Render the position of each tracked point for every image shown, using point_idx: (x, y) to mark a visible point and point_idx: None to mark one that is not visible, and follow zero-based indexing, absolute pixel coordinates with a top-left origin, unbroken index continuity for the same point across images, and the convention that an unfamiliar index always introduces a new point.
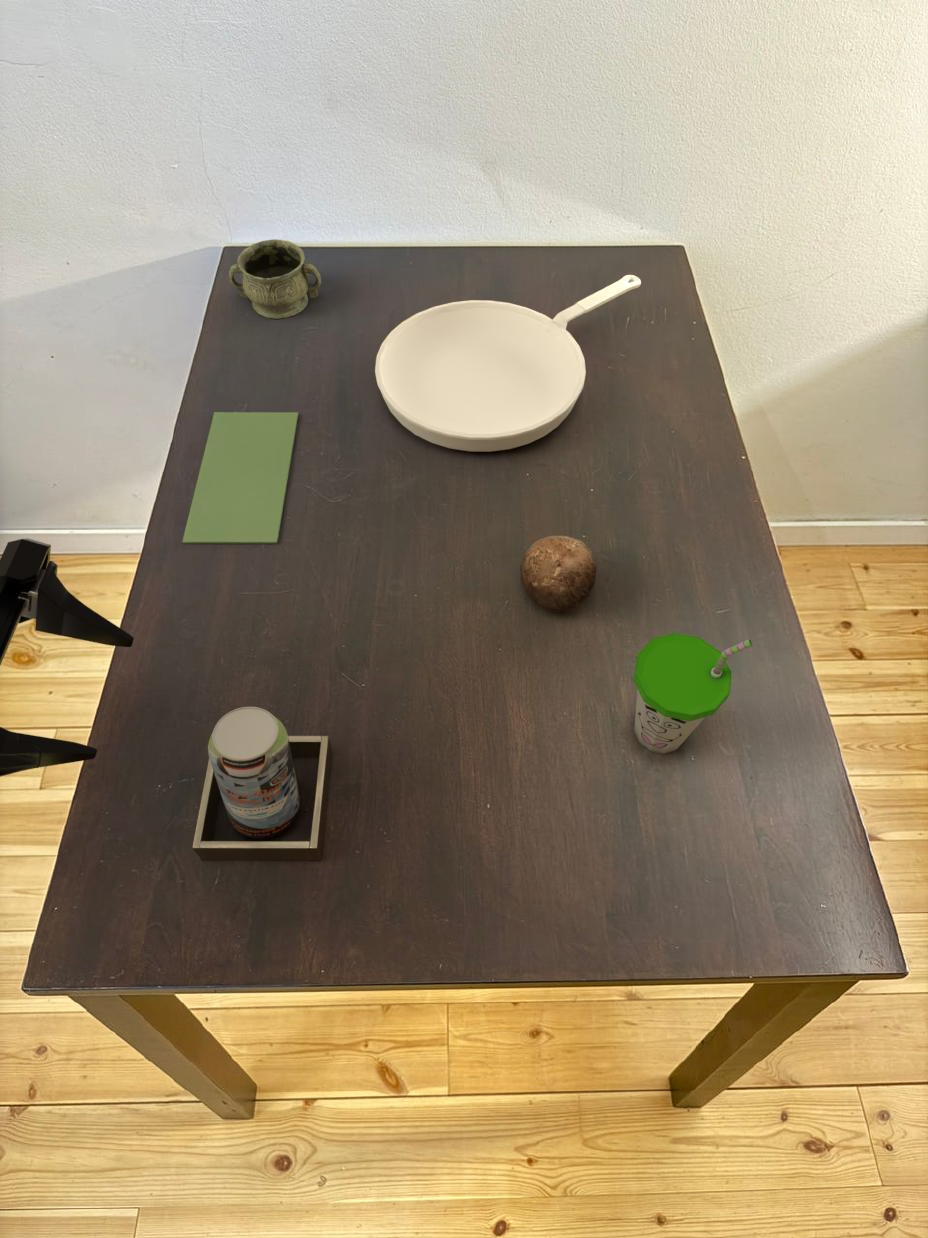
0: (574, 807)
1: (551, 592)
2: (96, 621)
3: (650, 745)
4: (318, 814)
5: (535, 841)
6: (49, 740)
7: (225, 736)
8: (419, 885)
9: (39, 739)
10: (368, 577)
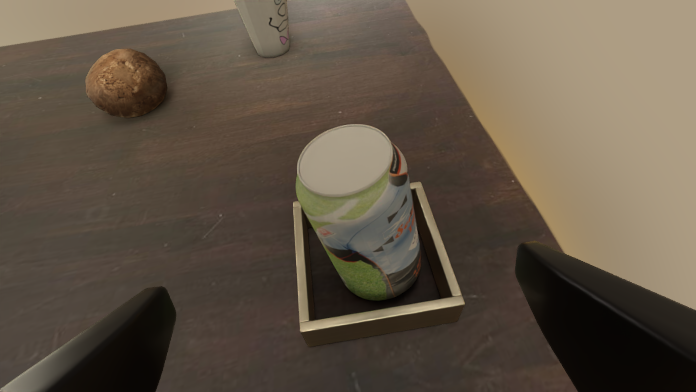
0: (333, 74)
1: (148, 77)
2: (58, 368)
3: (286, 41)
4: None
5: (362, 87)
6: (632, 310)
7: (355, 176)
8: (416, 137)
9: (675, 329)
10: (71, 242)
